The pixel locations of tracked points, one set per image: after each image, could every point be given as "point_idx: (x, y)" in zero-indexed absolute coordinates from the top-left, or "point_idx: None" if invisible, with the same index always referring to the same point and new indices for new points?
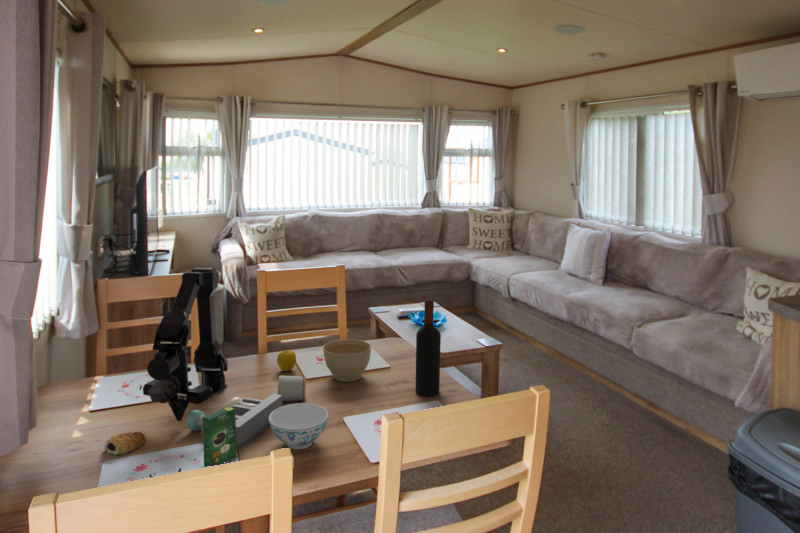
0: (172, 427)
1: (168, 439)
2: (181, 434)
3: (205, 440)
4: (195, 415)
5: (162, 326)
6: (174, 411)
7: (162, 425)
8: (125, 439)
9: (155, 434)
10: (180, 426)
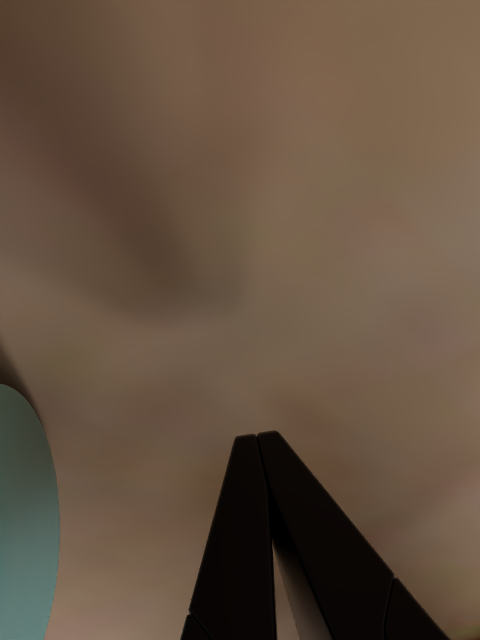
0: (311, 336)
1: (60, 45)
2: (44, 268)
3: None
4: None
5: None
6: (327, 564)
7: (459, 316)
8: None
9: (402, 88)
10: (242, 388)
